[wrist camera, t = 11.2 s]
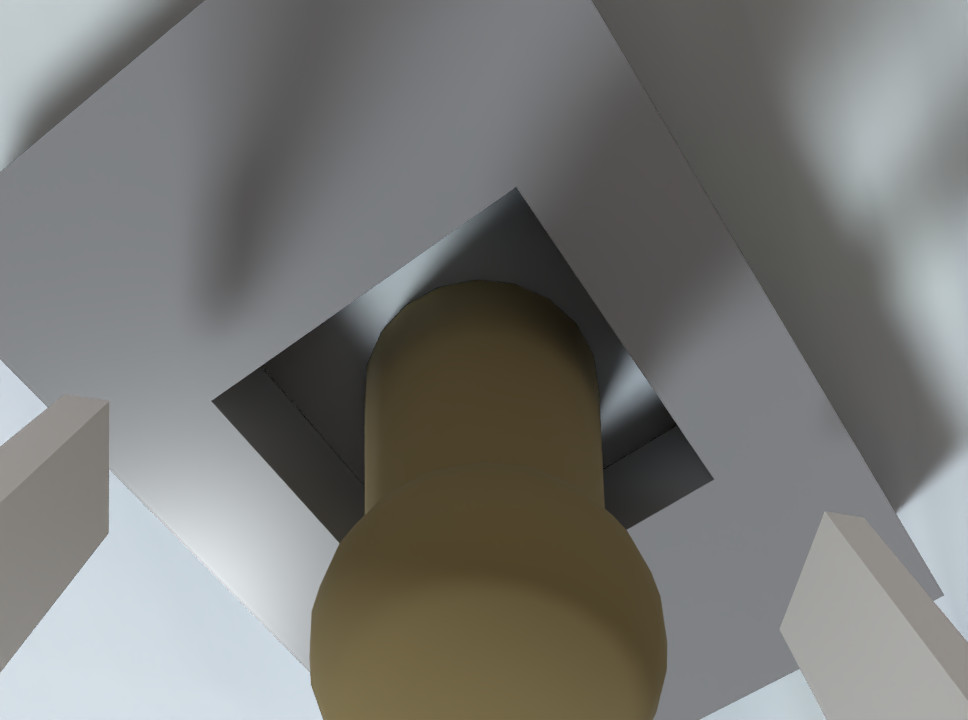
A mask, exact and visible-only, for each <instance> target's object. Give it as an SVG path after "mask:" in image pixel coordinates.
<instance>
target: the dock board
mask: <svg viewBox="0 0 968 720" xmlns="http://www.w3.org/2000/svg"><path fill="white" fill-rule="evenodd" d="M515 187H517V189H518V190H519V192H520V193H521V195H522V196H523V198H524V199H525V201H526V202H527V204H528V205H529V207H530V208H531V210H532V211H533V213H534V214H535V215H536V217H537V218H538V220H539V221H540V223H541V224H542V226H543V227H544V229H545V230H546V232H547V233H548V235H549V236H550V238H551V239H552V241H553V242H554V244H555V245H556V247H557V248H558V249H559V251H560V252H561V254H562V255H563V257H564V258H565V260H566V261H567V263H568V264H569V266H570V267H571V269H572V270H573V272H574V273H575V275H576V276H577V278H578V279H579V280H580V282H581V283H582V285H583V286H584V288H585V289H586V291H587V292H588V294H589V295H590V297H591V298H592V300H593V301H594V303H595V304H596V306H597V307H598V309H599V310H600V311H601V313H602V314H603V316H604V317H605V319H606V320H607V322H608V323H609V325H610V326H611V328H612V329H613V331H614V332H615V334H616V335H617V337H618V338H619V340H620V341H621V342H622V344H623V345H624V347H625V348H626V350H627V351H628V353H629V354H630V356H631V357H632V359H633V360H634V362H635V363H636V365H637V366H638V368H639V369H640V371H641V372H642V373H643V375H644V376H645V378H646V379H647V381H648V382H649V384H650V385H651V387H652V388H653V390H654V391H655V393H656V394H657V396H658V397H659V399H660V400H661V402H662V403H663V405H664V406H665V407H666V409H667V410H668V412H669V413H670V415H671V416H672V418H673V419H674V421H675V422H676V424H677V426H675V427H674V428H672V429H670V430H669V431H667V432H665V433H664V434H662V435H660V436H659V437H657V438H655V439H654V440H652V441H650V442H649V443H647V444H645V445H644V446H642V447H640V448H639V449H637V450H635V451H634V452H632V453H630V454H629V455H627V456H625V457H623V458H622V459H620V460H618V461H617V462H615V463H613V464H612V465H610V466H608V467H607V468H605V469H603V480H604V500H605V509H606V510H607V511H608V512H610V513H611V514H612V515H613V516H614V517H615V518H616V519H617V520H618V521H619V523H620V524H621V525H622V526H623V527H624V528H625V529H626V530H627V531H628V533H629V535H630V536H631V538H632V540H633V541H634V543H635V545H636V547H637V548H638V550H639V552H640V554H641V555H642V557H643V559H644V560H645V562H646V564H647V566H648V567H649V569H650V571H651V573H652V575H653V578H654V581H655V583H656V586H657V589H658V591H659V594H660V596H661V603H662V609H663V616H664V623H665V630H666V637H667V672H666V676H665V680H664V684H663V688H662V692H661V696H660V700H659V704H658V708H657V712H656V715H655V716H654V718H653V720H700V719H702V718H703V717H705V716H707V715H709V714H711V713H713V712H715V711H717V710H719V709H721V708H723V707H725V706H727V705H729V704H731V703H733V702H735V701H737V700H739V699H741V698H743V697H745V696H747V695H749V694H751V693H753V692H755V691H757V690H759V689H761V688H763V687H764V686H766V685H768V684H770V683H772V682H774V681H776V680H778V679H780V678H782V677H784V676H786V675H788V674H790V673H792V672H794V671H796V670H798V669H800V668H799V666H798V664H797V662H796V660H795V658H794V656H793V654H792V652H791V651H790V649H789V647H788V645H787V643H786V641H785V639H784V637H783V635H782V633H781V631H780V630H779V629H780V626H781V624H782V621H783V619H784V616H785V613H786V611H787V608H788V606H789V603H790V600H791V598H792V595H793V593H794V590H795V587H796V585H797V582H798V580H799V577H800V574H801V572H802V569H803V566H804V564H805V561H806V559H807V556H808V553H809V551H810V548H811V546H812V543H813V540H814V538H815V535H816V533H817V530H818V527H819V525H820V522H821V519H822V517H823V514H824V512H825V511H826V512H832V513H839V514H845V515H852V516H858V517H864V518H865V519H866V521H867V522H868V523H869V524H870V525H871V527H872V528H873V529H874V530H875V532H876V533H877V534H878V535H879V536H880V538H881V539H882V540H883V541H884V542H885V544H886V545H887V546H888V547H889V548H890V550H891V551H892V552H893V553H894V554H895V556H896V557H897V558H898V559H899V560H900V562H901V563H902V564H903V565H904V566H905V568H906V569H907V570H908V571H909V572H910V574H911V575H912V576H913V577H914V578H915V580H916V581H917V582H918V583H919V584H920V586H921V587H922V588H923V589H924V590H925V592H926V593H927V594H928V595H929V596H930V598H931V599H932V600H933V601H934V600H936V599H938V598H940V597H942V596H944V594H943V592H942V591H941V589H940V587H939V585H938V584H937V582H936V580H935V579H934V577H933V575H932V574H931V572H930V570H929V569H928V567H927V565H926V564H925V562H924V560H923V558H922V557H921V555H920V553H919V552H918V550H917V548H916V547H915V545H914V543H913V542H912V540H911V538H910V537H909V535H908V533H907V531H906V530H905V528H904V526H903V525H902V523H901V521H900V520H899V518H898V516H897V515H896V513H895V511H894V510H893V508H892V506H891V504H890V503H889V501H888V499H887V498H886V496H885V494H884V493H883V491H882V489H881V488H880V486H879V484H878V483H877V481H876V479H875V477H874V476H873V474H872V472H871V471H870V469H869V467H868V466H867V464H866V462H865V461H864V459H863V457H862V456H861V454H860V452H859V450H858V449H857V447H856V445H855V444H854V442H853V440H852V439H851V437H850V435H849V434H848V432H847V430H846V429H845V427H844V425H843V423H842V422H841V420H840V418H839V417H838V415H837V413H836V412H835V410H834V408H833V407H832V405H831V403H830V402H829V400H828V398H827V396H826V395H825V393H824V391H823V390H822V388H821V386H820V385H819V383H818V381H817V380H816V378H815V376H814V375H813V373H812V371H811V369H810V368H809V366H808V364H807V363H806V361H805V359H804V358H803V356H802V354H801V353H800V351H799V349H798V348H797V346H796V344H795V342H794V341H793V339H792V337H791V336H790V334H789V332H788V331H787V329H786V327H785V326H784V324H783V322H782V321H781V319H780V317H779V315H778V314H777V312H776V310H775V309H774V307H773V305H772V304H771V302H770V300H769V299H768V297H767V295H766V294H765V292H764V290H763V288H762V287H761V285H760V283H759V282H758V280H757V278H756V277H755V275H754V273H753V272H752V270H751V268H750V267H749V265H748V263H747V261H746V260H745V258H744V256H743V255H742V253H741V251H740V250H739V248H738V246H737V245H736V243H735V241H734V240H733V238H732V236H731V234H730V233H729V231H728V229H727V228H726V226H725V224H724V223H723V221H722V219H721V218H720V216H719V214H718V213H717V211H716V209H715V208H714V206H713V204H712V202H711V201H710V199H709V197H708V196H707V194H706V192H705V191H704V189H703V187H702V186H701V184H700V182H699V181H698V179H697V177H696V175H695V174H694V172H693V170H692V169H691V167H690V165H689V164H688V162H687V160H686V159H685V157H684V155H683V154H682V152H681V150H680V148H679V147H678V145H677V143H676V142H675V140H674V138H673V137H672V135H671V133H670V132H669V130H668V128H667V127H666V125H665V123H664V121H663V120H662V118H661V116H660V115H659V113H658V111H657V110H656V108H655V106H654V105H653V103H652V101H651V100H650V98H649V96H648V94H647V93H646V91H645V89H644V88H643V86H642V84H641V83H640V81H639V79H638V78H637V76H636V74H635V73H634V71H633V69H632V67H631V66H630V64H629V62H628V61H627V59H626V57H625V56H624V54H623V52H622V51H621V49H620V47H619V46H618V44H617V42H616V40H615V39H614V37H613V35H612V34H611V32H610V30H609V29H608V27H607V25H606V24H605V22H604V20H603V19H602V17H601V15H600V13H599V12H598V10H597V8H596V7H595V5H594V3H593V2H592V0H204V1H203V2H202V3H201V4H200V5H198V6H197V7H196V8H195V9H194V10H193V11H191V12H190V13H189V14H188V15H187V16H185V17H184V18H183V19H182V20H181V21H179V22H178V23H177V24H176V25H175V26H173V27H172V28H171V29H170V30H169V31H168V32H166V33H165V34H164V35H163V36H162V37H160V38H159V39H158V40H157V41H156V42H154V43H153V44H152V45H151V46H150V47H149V48H147V49H146V50H145V51H144V52H143V53H141V54H140V55H139V56H138V57H137V58H135V59H134V60H133V61H132V62H131V63H129V64H128V65H127V66H126V67H125V68H124V69H122V70H121V71H120V72H119V73H118V74H116V75H115V76H114V77H113V78H112V79H110V80H109V81H108V82H107V83H106V84H104V85H103V86H102V87H101V88H100V89H99V90H97V91H96V92H95V93H94V94H93V95H91V96H90V97H89V98H88V99H87V100H85V101H84V102H83V103H82V104H81V105H79V106H78V107H77V108H76V109H75V110H74V111H72V112H71V113H70V114H69V115H68V116H66V117H65V118H64V119H63V120H62V121H60V122H59V123H58V124H57V125H56V126H54V127H53V128H52V129H51V130H50V131H49V132H47V133H46V134H45V135H44V136H43V137H41V138H40V139H39V140H38V141H37V142H35V143H34V144H33V145H32V146H31V147H30V148H28V149H27V150H26V151H25V152H24V153H22V154H21V155H20V156H19V157H18V158H16V159H15V160H14V161H13V162H12V163H10V164H9V165H8V166H7V167H6V168H5V169H3V170H2V171H1V172H0V360H1V361H2V362H3V363H4V364H5V365H6V366H7V367H8V368H9V369H10V370H11V371H12V372H13V373H14V374H15V375H16V376H17V377H18V378H19V379H20V380H21V381H22V382H23V383H24V384H25V385H26V386H27V387H28V388H29V389H30V390H31V391H32V392H33V393H34V394H35V395H36V396H37V397H38V398H39V399H40V400H41V401H42V402H43V403H44V404H45V405H46V406H47V407H50V406H51V405H52V404H53V403H54V402H56V401H57V400H58V399H59V398H61V397H62V396H63V395H64V394H68V395H75V396H81V397H88V398H94V399H101V400H107V401H109V470H110V471H111V472H112V473H113V474H114V475H115V476H116V477H117V478H118V479H119V480H120V481H121V482H122V483H123V484H124V485H125V486H126V487H127V488H128V489H129V490H130V491H131V492H132V493H133V494H134V495H135V496H136V497H137V498H138V499H139V500H140V501H141V502H142V503H143V504H144V505H145V506H146V507H147V508H148V509H149V510H150V511H151V512H152V513H153V514H154V515H155V516H156V517H157V518H158V519H159V520H160V521H161V522H162V523H163V524H164V525H165V526H166V527H167V528H168V529H169V530H170V531H171V532H172V533H173V534H174V536H175V537H176V538H177V539H178V540H179V541H180V542H181V543H182V544H183V545H184V546H185V547H186V548H187V549H188V550H189V551H190V552H191V553H192V554H193V555H194V556H195V557H196V558H197V559H198V560H199V561H200V562H201V563H202V564H203V565H204V566H205V567H206V568H207V569H208V570H209V571H210V572H211V573H212V574H213V575H214V576H215V577H216V578H217V579H218V580H219V581H220V582H221V583H222V584H223V585H224V586H225V587H226V588H227V589H228V590H229V591H230V592H231V593H232V594H233V595H234V596H235V597H236V598H237V599H238V600H239V601H240V602H241V603H242V604H243V605H244V606H245V607H246V608H247V609H248V610H249V611H250V612H251V613H252V614H253V615H254V616H255V617H256V618H257V619H258V620H259V621H260V622H261V623H262V624H263V625H264V627H265V628H266V629H267V630H268V631H269V632H270V633H271V634H272V635H273V636H274V637H275V638H276V639H277V640H278V641H279V642H280V643H281V644H282V645H283V646H284V647H285V648H286V649H287V650H288V651H289V652H290V653H291V654H292V655H293V656H294V657H295V658H296V659H297V660H298V661H299V662H300V663H301V664H302V665H303V666H304V667H305V668H306V669H307V670H308V671H309V672H310V660H309V654H310V633H311V612H312V609H313V605H314V602H315V599H316V596H317V593H318V590H319V587H320V584H321V582H322V580H323V578H324V576H325V574H326V571H327V569H328V567H329V565H330V563H331V561H332V558H333V556H334V554H335V552H336V550H337V547H338V545H339V543H340V542H341V541H342V540H343V539H344V537H345V536H346V535H347V534H348V533H349V531H350V530H351V529H352V528H353V526H354V525H355V524H356V523H357V522H358V521H359V520H360V519H361V518H362V517H363V516H364V515H365V487H364V485H363V484H362V483H361V482H360V481H359V480H358V478H357V477H356V476H355V475H354V474H353V473H352V472H351V470H350V469H349V468H348V467H347V466H346V465H345V463H344V462H343V461H342V460H341V459H340V458H339V456H338V455H337V454H336V453H335V452H334V451H333V450H332V448H331V447H330V446H329V445H328V444H327V443H326V441H325V440H324V439H323V438H322V437H321V436H320V434H319V433H318V432H317V431H316V430H315V429H314V428H313V426H312V425H311V424H310V423H309V422H308V421H307V419H306V418H305V417H304V416H303V415H302V414H301V412H300V411H299V410H298V409H297V408H296V407H295V406H294V404H293V403H292V402H291V401H290V400H289V399H288V397H287V396H286V395H285V394H284V393H283V392H282V390H281V389H280V388H279V387H278V386H277V385H276V384H275V382H274V381H273V380H272V379H271V378H270V377H269V375H268V374H267V373H266V372H265V371H264V370H263V368H262V367H261V366H262V365H263V364H265V363H266V362H267V361H269V360H270V359H272V358H273V357H275V356H276V355H277V354H279V353H280V352H282V351H283V350H285V349H286V348H287V347H289V346H290V345H292V344H293V343H295V342H296V341H297V340H299V339H300V338H302V337H303V336H305V335H306V334H307V333H309V332H310V331H312V330H313V329H315V328H316V327H317V326H319V325H320V324H322V323H323V322H324V321H326V320H327V319H329V318H330V317H332V316H333V315H334V314H336V313H337V312H339V311H340V310H342V309H343V308H344V307H346V306H347V305H349V304H350V303H352V302H353V301H354V300H356V299H357V298H359V297H360V296H362V295H363V294H364V293H366V292H367V291H369V290H370V289H372V288H373V287H374V286H376V285H377V284H379V283H380V282H382V281H383V280H384V279H386V278H387V277H389V276H390V275H391V274H393V273H394V272H396V271H397V270H399V269H400V268H401V267H403V266H404V265H406V264H407V263H409V262H410V261H411V260H413V259H414V258H416V257H417V256H419V255H420V254H421V253H423V252H424V251H426V250H427V249H429V248H430V247H431V246H433V245H434V244H436V243H437V242H439V241H440V240H441V239H443V238H444V237H446V236H447V235H448V234H450V233H451V232H453V231H454V230H456V229H457V228H458V227H460V226H461V225H463V224H464V223H466V222H467V221H468V220H470V219H471V218H473V217H474V216H476V215H477V214H478V213H480V212H481V211H483V210H484V209H486V208H487V207H488V206H490V205H491V204H493V203H494V202H496V201H497V200H498V199H500V198H501V197H503V196H504V195H505V194H507V193H508V192H510V191H511V190H513V189H514V188H515Z"/></svg>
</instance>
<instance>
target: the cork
mask: <svg viewBox="0 0 968 720" xmlns="http://www.w3.org/2000/svg"><path fill="white" fill-rule="evenodd" d="M309 660H310V675H311V686H312V689H313V692H314V694H315V697H316V700H317V703H318V706H319V709H320V711H321V714H322V717H323V720H653V718H654V716H655V715H656V712H657V708H658V704H659V700H660V696H661V692H662V688H663V684H664V680H665V676H666V672H667V637H666V630H665V623H664V616H663V609H662V603H661V596H660V594H659V591H658V589H657V586H656V583H655V581H654V578H653V575H652V573H651V571H650V569H649V567H648V566H647V564H646V562H645V560H644V559H643V557H642V555H641V554H640V552H639V550H638V548H637V547H636V545H635V543H634V541H633V540H632V538H631V536H630V535H629V533H628V531H627V530H626V529H625V528H624V527H623V526H622V525H621V524H620V523H619V521H618V520H617V519H616V518H615V517H614V516H613V515H612V514H611V513H610V512H608V511H607V510H606V509H605V500H604V480H603V460H602V440H601V421H600V401H599V386H598V380H597V374H596V368H595V362H594V355H593V353H592V351H591V350H590V348H589V346H588V344H587V342H586V340H585V339H584V337H583V335H582V333H581V331H580V329H579V328H578V326H577V324H576V323H575V322H574V321H573V320H572V319H570V318H569V317H568V316H567V315H566V314H565V313H564V312H563V311H562V310H561V309H559V308H558V307H557V306H556V305H555V304H554V303H553V302H552V301H551V300H550V299H547V298H545V297H543V296H541V295H538V294H536V293H534V292H532V291H529V290H527V289H525V288H523V287H520V286H518V285H516V284H510V283H501V282H492V281H482V280H473V281H468V282H463V283H458V284H453V285H448V286H443V287H438V288H437V289H435V290H433V291H431V292H429V293H428V294H426V295H424V296H422V297H420V298H419V299H417V300H415V301H413V302H411V303H410V304H408V305H406V306H405V307H404V308H403V309H402V310H401V311H400V312H399V314H398V315H397V316H396V317H395V318H394V319H393V320H392V321H391V322H390V323H389V324H388V325H387V327H386V328H385V329H384V330H383V331H382V332H381V334H380V336H379V338H378V341H377V343H376V345H375V348H374V350H373V352H372V354H371V357H370V359H369V361H368V364H367V373H366V387H365V515H364V516H363V517H362V518H361V519H360V520H359V521H358V522H357V523H356V524H355V525H354V526H353V528H352V529H351V530H350V531H349V533H348V534H347V535H346V536H345V537H344V539H343V540H342V541H341V542H340V543H339V545H338V547H337V550H336V552H335V554H334V556H333V558H332V561H331V563H330V565H329V567H328V569H327V571H326V574H325V576H324V578H323V580H322V582H321V584H320V587H319V590H318V593H317V596H316V599H315V602H314V605H313V609H312V612H311V633H310V654H309Z"/></svg>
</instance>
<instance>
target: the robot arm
mask: <svg viewBox="0 0 968 720" xmlns="http://www.w3.org/2000/svg"><path fill="white" fill-rule="evenodd" d="M108 530H109V401H107V400H101V399H94V398H88V397H81V396H75V395H68V394H64V395H63V396H62V397H61V398H59V399H58V400H57V401H56V402H54V403H53V404H52V405H51V406H50V407H48V408H47V409H46V410H45V411H43V412H42V413H41V414H40V415H39V416H37V417H36V418H35V419H34V420H32V421H31V422H30V423H29V424H28V425H26V426H25V427H24V428H23V429H21V430H20V431H19V432H18V433H16V434H15V435H14V436H13V437H12V438H10V439H9V440H8V441H7V442H5V443H4V444H3V445H2V446H1V447H0V672H1V671H2V670H3V668H4V667H5V666H6V665H7V663H8V662H9V661H10V659H11V658H12V657H13V655H14V654H15V653H16V652H17V650H18V649H19V648H20V646H21V645H22V644H23V643H24V641H25V640H26V639H27V637H28V636H29V635H30V634H31V632H32V631H33V630H34V628H35V627H36V626H37V625H38V623H39V622H40V621H41V619H42V618H43V617H44V616H45V614H46V613H47V612H48V610H49V609H50V608H51V607H52V605H53V604H54V603H55V601H56V600H57V599H58V598H59V596H60V595H61V594H62V592H63V591H64V590H65V589H66V587H67V586H68V585H69V583H70V582H71V581H72V580H73V578H74V577H75V576H76V574H77V573H78V572H79V571H80V569H81V568H82V567H83V565H84V564H85V563H86V561H87V560H88V559H89V558H90V556H91V555H92V554H93V552H94V551H95V550H96V549H97V547H98V546H99V545H100V543H101V542H102V541H103V540H104V538H105V537H106V536H107V534H108ZM779 630H780V631H781V633H782V635H783V637H784V639H785V641H786V643H787V645H788V647H789V649H790V651H791V652H792V654H793V656H794V658H795V660H796V662H797V664H798V666H799V668H800V670H801V672H802V674H803V675H804V677H805V679H806V681H807V683H808V685H809V687H810V689H811V691H812V693H813V695H814V697H815V698H816V700H817V702H818V704H819V706H820V708H821V710H822V712H823V714H824V716H825V718H826V719H827V720H968V642H967V641H966V640H965V639H964V637H963V636H962V635H961V634H960V633H959V631H958V630H957V629H956V628H955V626H954V625H953V624H952V623H951V622H950V620H949V619H948V618H947V617H946V616H945V614H944V613H943V612H942V611H941V610H940V608H939V607H938V606H937V605H936V604H935V602H934V601H933V600H932V599H931V598H930V596H929V595H928V594H927V593H926V592H925V590H924V589H923V588H922V587H921V586H920V584H919V583H918V582H917V581H916V580H915V578H914V577H913V576H912V575H911V574H910V572H909V571H908V570H907V569H906V568H905V566H904V565H903V564H902V563H901V562H900V560H899V559H898V558H897V557H896V556H895V554H894V553H893V552H892V551H891V550H890V548H889V547H888V546H887V545H886V544H885V542H884V541H883V540H882V539H881V538H880V536H879V535H878V534H877V533H876V532H875V530H874V529H873V528H872V527H871V525H870V524H869V523H868V522H867V521H866V519H865V518H864V517H858V516H852V515H845V514H839V513H832V512H826V511H825V512H824V514H823V517H822V519H821V522H820V525H819V527H818V530H817V533H816V535H815V538H814V540H813V543H812V546H811V548H810V551H809V553H808V556H807V559H806V561H805V564H804V566H803V569H802V572H801V574H800V577H799V580H798V582H797V585H796V587H795V590H794V593H793V595H792V598H791V600H790V603H789V606H788V608H787V611H786V613H785V616H784V619H783V621H782V624H781V626H780V629H779Z"/></svg>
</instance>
